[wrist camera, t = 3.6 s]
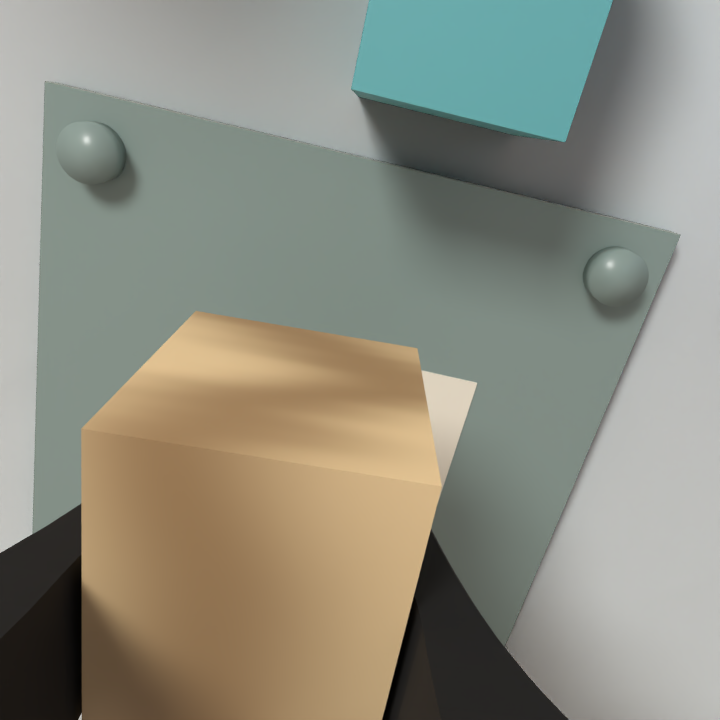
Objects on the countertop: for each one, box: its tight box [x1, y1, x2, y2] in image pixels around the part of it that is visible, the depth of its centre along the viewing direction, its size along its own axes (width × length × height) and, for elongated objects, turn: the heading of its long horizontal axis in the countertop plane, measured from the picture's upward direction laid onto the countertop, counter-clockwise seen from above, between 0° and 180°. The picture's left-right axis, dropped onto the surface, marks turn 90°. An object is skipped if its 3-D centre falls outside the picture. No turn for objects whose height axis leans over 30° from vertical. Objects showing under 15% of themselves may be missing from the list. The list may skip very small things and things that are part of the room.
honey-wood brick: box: [81, 311, 442, 720], centre depth 11 cm, size 4×7×5 cm, turn 170°
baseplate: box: [33, 81, 680, 647], centre depth 20 cm, size 18×18×1 cm
